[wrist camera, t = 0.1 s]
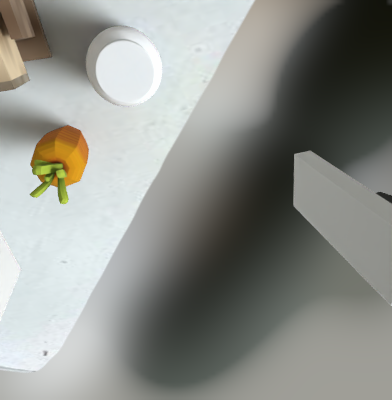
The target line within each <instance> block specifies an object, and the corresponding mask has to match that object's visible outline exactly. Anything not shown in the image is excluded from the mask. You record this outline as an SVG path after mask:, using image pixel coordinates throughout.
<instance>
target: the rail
mask: <svg viewBox="0 0 392 400" xmlns="http://www.w3.org/2000/svg"><path fill="white" fill-rule="evenodd" d="M28 81H30V80H29V77H28V74H27V72H26V69H25V66H24V64H23V61H22V58H21V56H20V53H19V50H18V48H17V45H16V42H15V40H14V39H13V40H11V38H10V35H9V33H8V30H7V27H6V25H5V22H4V19H3V17H2V14H1V12H0V92H1V91H7V90H13V89H16V88H17V87H19V86H21V85H23V84H24V83H26V82H28Z"/></svg>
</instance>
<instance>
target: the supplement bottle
mask: <svg viewBox="0 0 392 400" xmlns="http://www.w3.org/2000/svg"><path fill="white" fill-rule="evenodd" d="M86 70H87V75H88V78H89V80H90V83H91V84H92V86H93V88H94V89H95V91H96V92H97V93H98V94H99V95H100V96H101V97H102V98H104V99H105V100H107V101H108V102H110V103H112V104H115V105H118V106H125V107H130V106H136V105H139V104H141V103H143V102H145V101H147V100H148V99H149V98H150V97H152V95H153V94H154V93H155V92H156V90H157V88H158V86H159V84H160V81H161V77H162V62H161V58H160V55H159V52H158V50H157V48H156V46H155V45H154V43H153V42H152V41H151V40H150V39H149V38H148V37H147V36H146V35H145V34H144V33H142V32H141V31H139V30H137V29H134V28H132V27H127V26H114V27H110V28H108V29H106V30H104V31H102V32H101V33H99V34H98V35H97V36H96V37H95V38H94V39H93V41H92V42H91V44H90V46H89V49H88V51H87V56H86Z"/></svg>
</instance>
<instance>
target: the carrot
mask: <svg viewBox="0 0 392 400" xmlns="http://www.w3.org/2000/svg"><path fill="white" fill-rule="evenodd" d="M88 152H89V149H88V145H87V143H86V141H85V139H84V137H83V135H82V133H81V131H80V130H78V129H76V128H73V127H71V126H68V125H67V126H64V127H61V128H59V129H56V130H53V131H51V132H49V133H47V134H46V135H45V136H44V137H43V138H42V139H41V140H40V141H39V142H38V143H37V145H36V148H35V151H34V154H33V157H32V160H31V163H30V164H31V167H32V168H33V169H32V172H33V174H34V175H37V176H38V178H39V179H40V181H41V182H43V183H42V184H41V185H40V186H39V187H37V188H36V189H35V190H34V191H33V192H32V193H31V194H30V195H31V196H32V197H36V198H37V197H38V196H40V195H41V194H42V193H43V192H44V191H45V190H46V189H47V188H48V187H49V186H50V185H53V186H56V187H58V197H59V201H60V204H66V203H67V202H68V195H67V191H66V186H68V185H71V184H73V183H76V182H78V181H80V179H81V177H82V174H83V172H84V169H85V166H86V164H87V160H88Z"/></svg>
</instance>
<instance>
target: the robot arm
mask: <svg viewBox="0 0 392 400" xmlns="http://www.w3.org/2000/svg"><path fill="white" fill-rule="evenodd" d="M294 158H295V159H294V160H295V162H294V207H295V208H296V209H297V210H299V212H300V213H301V214H302V215H303V216H304V217H305V218H306V219H307V220H308V221H309V222H310V223H311V224H312V225H313V226H314V227H315V228H316V229H317V230H318V231H319V232H320V233H321V234H322V236H323V237H324V238H325V239H326V240H327V241H328V242H329V243H330V244H331V245H332V246H333V247H334V248H335V249H336V250H337V251H338V252H339V253H340V254H341V255H342V256H343V257H344V258H345V259H346V260H347V261H348V262H349V263H350V264H351V265H352V266H353V267H354V269H355V270H357V272H358V273H359V274H360V275H361V276H362V277H363V278H364V279H365V280H366V281H367V282H368V283H369V284H370V285H371V286H372V287H373V288H374V289H375V290H376V291H377V292H378V293H379V294H380V295H381V296H382V297H383V298H384V299H385V300H386V301H387V302H388V303H389V304H390V305H391V306H392V196H391V195H388V194H385V193H382V192H378V193H374V192H373V191H371V190H370V189H368V188H367V187H365V186H364V185H362V184H360V183H359V182H357V181H356V180H354V179H353V178H351V177H350V176H348V175H347V174H345V173H344V172H342V171H341V170H339V169H337V168H336V167H334V166H333V165H331V164H330V163H328V162H327V161H325V160H323V159H322V158H321V157H319V156H317V155H316V154H314V153H313V152H311V151H307V152H302V153H298V154H295V157H294ZM20 272H21V268H20V266H19V264H18V263H17V261H16V259H15V257H14V255H13V253H12V252H11V250H10V248H9V246H8V244H7V242H6V240H5V239H4V237H3V235H2V233H1V231H0V320H1V318H2V315H3V313H4V311H5V308H6V306H7V303H8V301H9V298H10V296H11V294H12V291H13V289H14V286H15V284H16V281H17V279H18V276H19V274H20Z"/></svg>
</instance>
